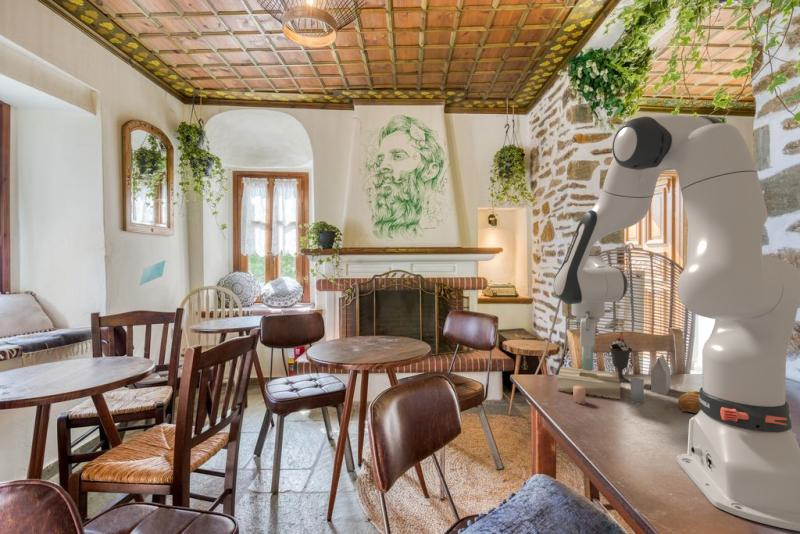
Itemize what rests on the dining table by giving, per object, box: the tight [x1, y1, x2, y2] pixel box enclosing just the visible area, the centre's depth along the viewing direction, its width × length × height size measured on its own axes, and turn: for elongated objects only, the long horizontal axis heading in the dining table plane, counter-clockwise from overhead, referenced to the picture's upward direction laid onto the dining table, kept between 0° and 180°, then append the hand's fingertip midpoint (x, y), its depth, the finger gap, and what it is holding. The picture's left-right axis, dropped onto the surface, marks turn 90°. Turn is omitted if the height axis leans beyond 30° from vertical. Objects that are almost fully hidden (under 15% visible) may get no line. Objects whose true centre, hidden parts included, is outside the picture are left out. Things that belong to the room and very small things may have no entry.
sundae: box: [608, 331, 633, 383], centre depth 122 cm, size 7×7×15 cm
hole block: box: [557, 366, 621, 400], centre depth 115 cm, size 12×16×4 cm
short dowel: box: [572, 386, 587, 404], centre depth 104 cm, size 3×3×4 cm
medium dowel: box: [630, 377, 645, 404], centre depth 104 cm, size 3×3×6 cm
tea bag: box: [650, 353, 671, 396], centre depth 112 cm, size 4×7×10 cm, turn 137°
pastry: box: [677, 390, 701, 415], centre depth 99 cm, size 9×7×4 cm
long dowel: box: [581, 346, 594, 371], centre depth 115 cm, size 3×3×8 cm
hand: (587, 356), depth 115 cm, fingers closed on long dowel, 3 cm apart
